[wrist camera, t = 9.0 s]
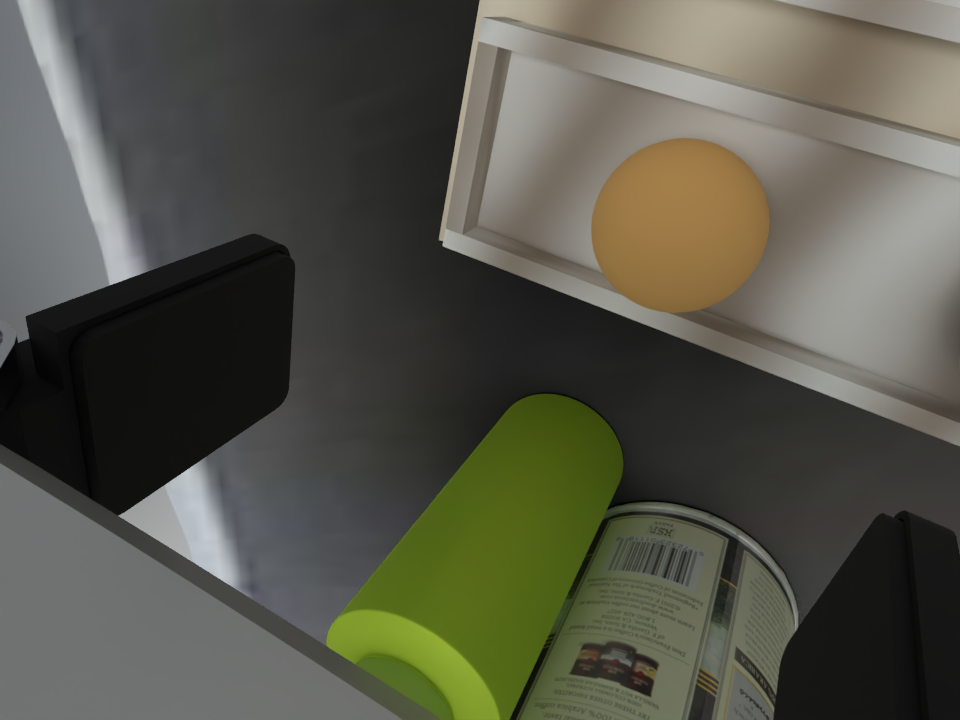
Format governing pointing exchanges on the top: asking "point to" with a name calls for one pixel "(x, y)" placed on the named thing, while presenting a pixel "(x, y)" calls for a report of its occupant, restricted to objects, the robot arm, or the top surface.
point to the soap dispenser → (487, 564)
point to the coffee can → (665, 624)
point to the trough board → (764, 148)
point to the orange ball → (680, 225)
